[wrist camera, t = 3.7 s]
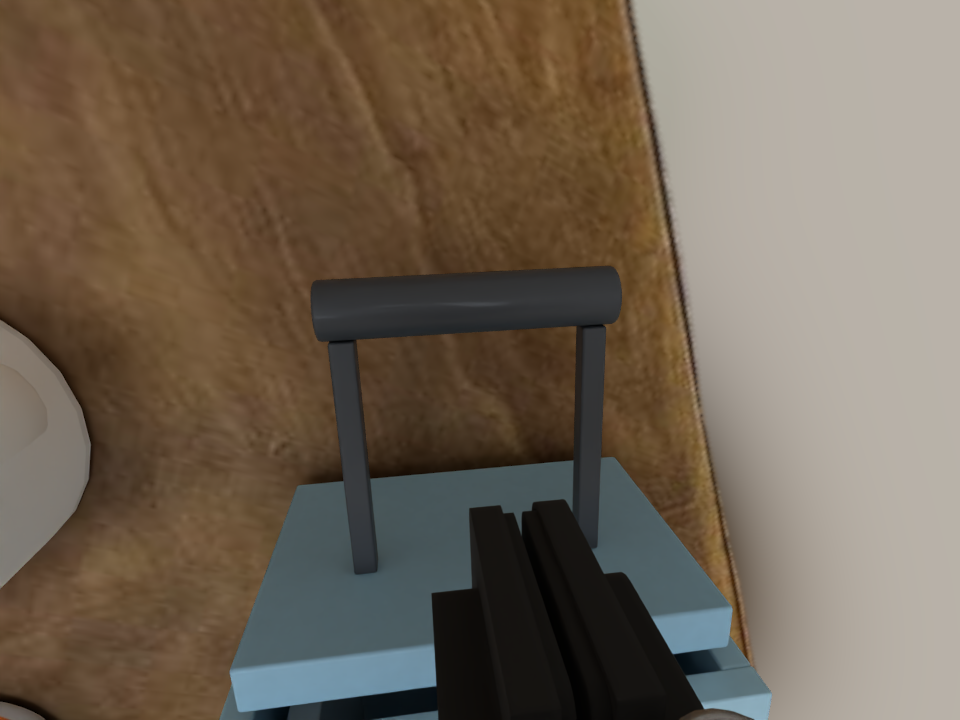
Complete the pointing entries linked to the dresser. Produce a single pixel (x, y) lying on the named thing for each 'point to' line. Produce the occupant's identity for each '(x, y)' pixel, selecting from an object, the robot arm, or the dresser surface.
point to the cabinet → (710, 672)
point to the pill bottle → (16, 713)
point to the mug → (36, 451)
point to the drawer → (443, 510)
